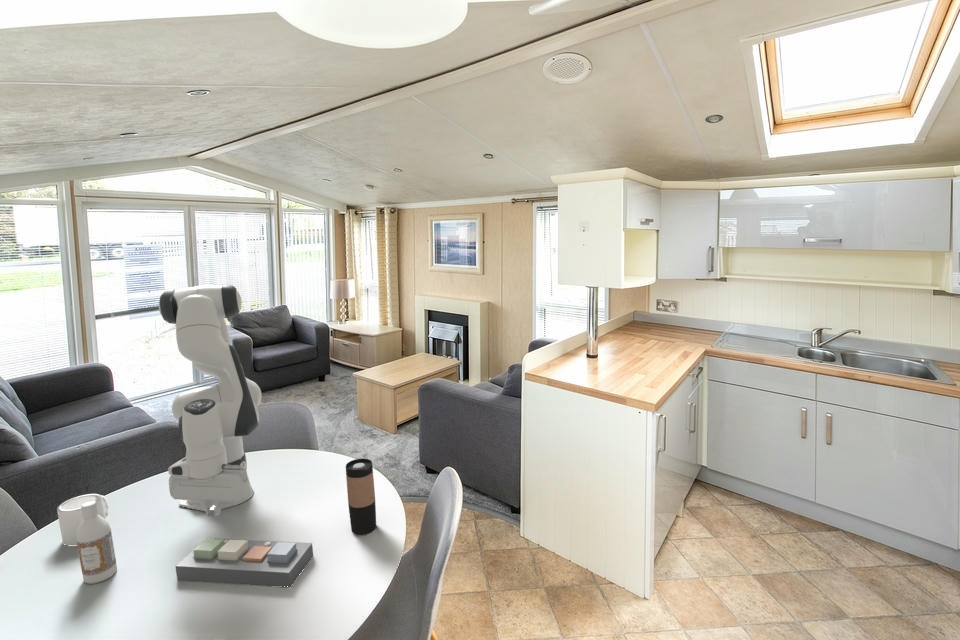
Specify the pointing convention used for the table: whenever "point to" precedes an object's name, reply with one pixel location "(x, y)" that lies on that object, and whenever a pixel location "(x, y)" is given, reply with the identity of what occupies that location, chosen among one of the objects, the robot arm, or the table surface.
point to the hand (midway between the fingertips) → (213, 514)
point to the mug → (77, 515)
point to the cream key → (233, 550)
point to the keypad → (245, 567)
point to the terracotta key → (257, 554)
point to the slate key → (282, 552)
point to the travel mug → (361, 496)
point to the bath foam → (95, 546)
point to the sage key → (208, 549)
